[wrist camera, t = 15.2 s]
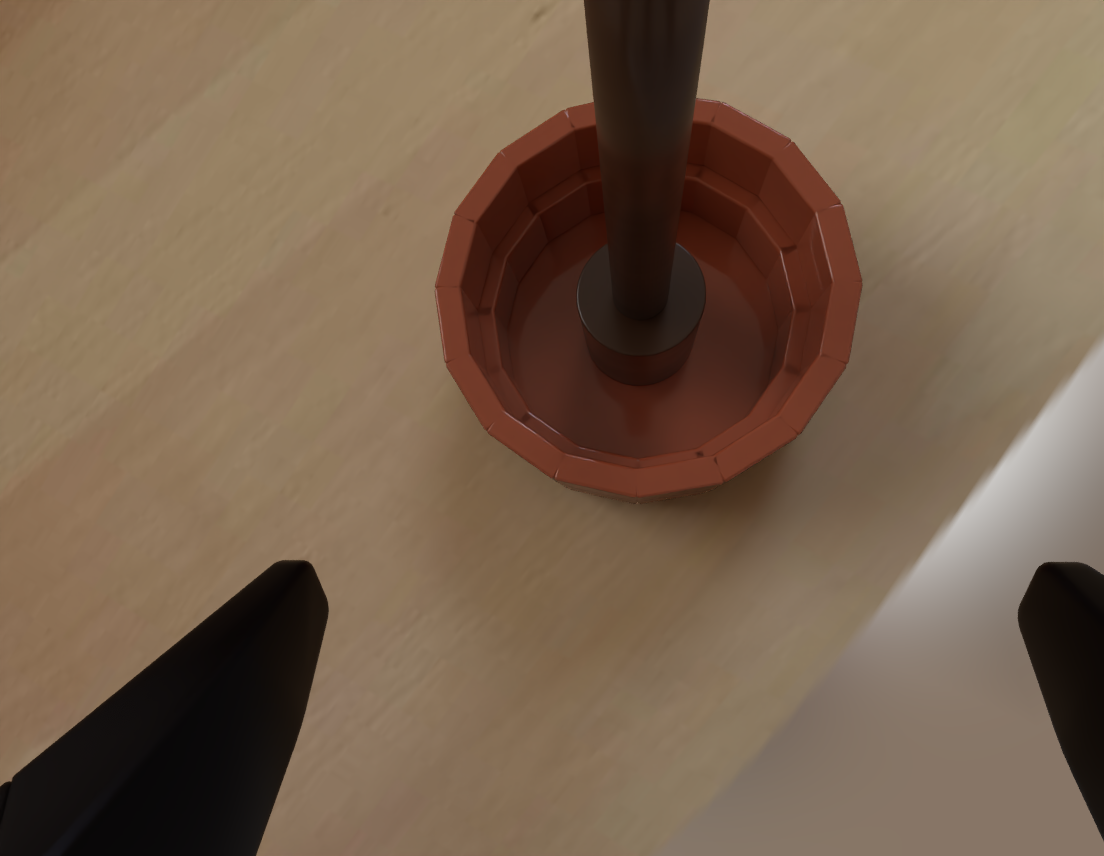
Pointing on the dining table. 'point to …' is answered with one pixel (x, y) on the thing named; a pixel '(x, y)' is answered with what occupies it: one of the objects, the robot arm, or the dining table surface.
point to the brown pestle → (643, 187)
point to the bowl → (725, 328)
